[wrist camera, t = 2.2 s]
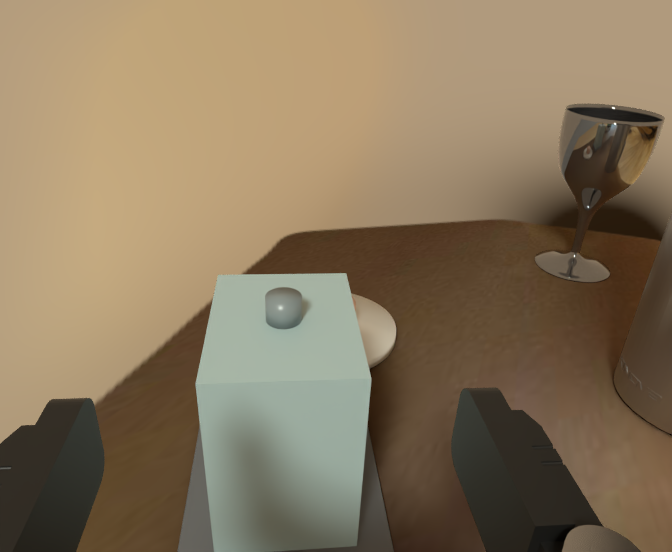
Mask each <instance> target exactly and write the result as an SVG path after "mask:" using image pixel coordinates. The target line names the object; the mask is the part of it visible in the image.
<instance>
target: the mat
mask: <svg viewBox="0 0 672 552" xmlns="http://www.w3.org/2000/svg"><path fill="white" fill-rule="evenodd" d="M178 552H214V547H213V538H212V529H211V520H210V511H209V501H208V492H207V483H206V474H205V465H204V456H203V447H202V438H201V429H200V427H199V433H198V439H197V444H196V450H195V456H194V461H193V467H192V473H191V478H190V484H189V490H188V495H187V501H186V507H185V512H184V518H183V524H182V529H181V535H180V541H179V546H178ZM274 552H394V550H393V545H392V540H391V535H390V530H389V525H388V521H387V516H386V511H385V506H384V501H383V496H382V492H381V487H380V482H379V477H378V472H377V468H376V463H375V458H374V453H373V448H372V443H371V439H370V434H369V429H368V424H367V436H366V447H365V458H364V470H363V481H362V493H361V504H360V516H359V527H358V539H357V546H351V547H335V548H320V549H305V550H289V551H274Z"/></svg>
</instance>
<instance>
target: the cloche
mask: <svg viewBox="0 0 672 552" xmlns="http://www.w3.org/2000/svg"><path fill="white" fill-rule="evenodd" d="M370 390H371V374H370V370H369V366H368V362H367V358H366V354H365V350H364V345H363V341H362V337H361V333H360V329H359V325H358V321H357V317H356V312H355V308H354V304H353V300H352V296H351V292H350V288H349V283H348V279H347V275H346V273H339V274H257V275H218V278H217V283H216V288H215V292H214V297H213V302H212V307H211V312H210V317H209V322H208V326H207V331H206V336H205V341H204V346H203V351H202V356H201V361H200V365H199V370H198V375H197V380H196V392H197V401H198V410H199V419H200V429H201V438H202V447H203V456H204V465H205V474H206V483H207V492H208V501H209V511H210V520H211V529H212V538H213V547H214V552H274V551H289V550H305V549H320V548H335V547H351V546H357V539H358V527H359V516H360V504H361V493H362V481H363V470H364V458H365V447H366V436H367V424H368V413H369V401H370Z"/></svg>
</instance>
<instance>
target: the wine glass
mask: <svg viewBox="0 0 672 552" xmlns="http://www.w3.org/2000/svg"><path fill="white" fill-rule="evenodd" d="M664 119H665V118H664V117H663V116H662V115H659V114H656V113H653V112H650V111H646V110H641V109H636V108H630V107H623V106H615V105H605V104H574V105H569V106H567V107H566V109H565V113H564V117H563V121H562V126H561V132H560V137H559V150H558V156H559V158H558V159H559V169H560V172H561V174H562V177H563V178H564V180H565V182H566V184H567V185H568V187H569V189H570V190H571V192H572V194H573V195H574V198H575V200H576V202H577V207H578V222H577V229H576V235H575V239H574V243H573V246H572V249H571V251H568V250H546V251H542V252H540V253H538V254H537V255H536V256H535V263H536V264H537V265H538V266H539V267H540V268H541V269H542V270H544V271H546V272H547V273H549V274H551V275H554V276H556V277H559V278H562V279H566V280H571V281H576V282H600V281H603V280H605V279H607V278H608V277H609V276H610V270H609V268H608V267H607V266H606V265H605V264H604V263H603V262H601V261H599V260H597V259H595V258H593V257H591V256H588V255H585V254H582V253H580V250H581V246H582V242H583V239H584V236H585V233H586V231H587V228H588V226H589V223H590V221H591V219H592V217H593V215H594V214H595V212H596V211H597V210H598V209H599V208H600V207H601V206H602V205H603V204H604V203H606V202H607V201H608V200H609V199H611V198H613V197H614V196H616V195H618V194H619V193H621V192H622V191H624V190H625V189H627V188H628V187H629V186H631V185H632V184H633V183H634V182H635V181H636V180H637V179H638V178H639V176H640V175H641V173H642V171H643V170H644V168H645V167H646V165H647V163H648V161H649V159H650V157H651V155H652V153H653V151H654V149H655V146H656V143H657V141H658V138H659V136H660V133H661V130H662V127H663V123H664Z"/></svg>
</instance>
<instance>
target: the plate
mask: <svg viewBox="0 0 672 552" xmlns="http://www.w3.org/2000/svg"><path fill="white" fill-rule="evenodd" d="M351 296H352V297H353V298H354V299H355V301H356V311H355V312H356V317H357V321H358V325H359V329H360V333H361V337H362V341H363V345H364V350H365V354H366V358H367V362H368V366H369V369H370V368H372V367H374V366H376V365H378V364H379V363H381V362H382V361H384V360H385V359H386V358H387V357H388V356H389V354H390V353H391V352H392V350H393V348H394V345H395V339H396V325H395V322H394V320H393V318H392V317H391V315H390V314H389V313H388V312H387V311H386V310H385V309H384V308H383V307H381V306H380V305H378V304H377V303H375V302H373V301H371V300H369V299H367V298H364V297H361V296H358V295H354V294H351Z"/></svg>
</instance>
